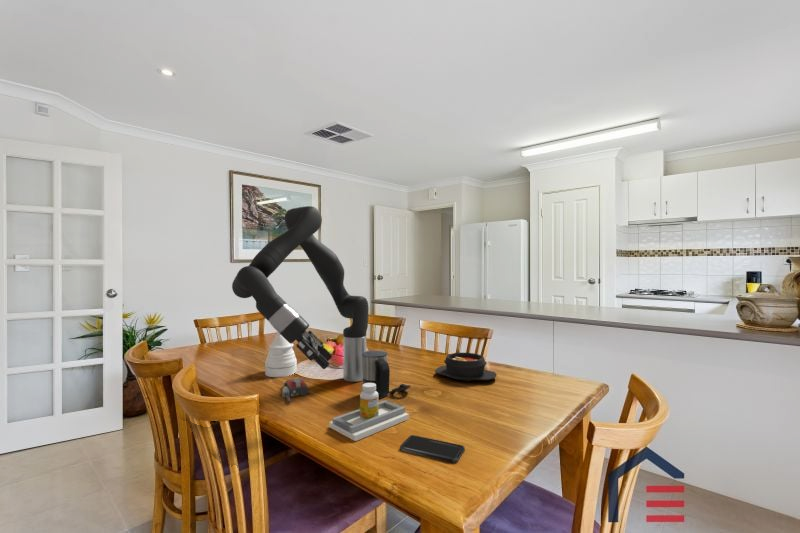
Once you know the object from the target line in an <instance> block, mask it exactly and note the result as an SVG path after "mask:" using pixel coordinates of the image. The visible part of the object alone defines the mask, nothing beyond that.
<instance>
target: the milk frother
mask: <svg viewBox="0 0 800 533" xmlns="http://www.w3.org/2000/svg"><path fill="white" fill-rule="evenodd" d="M387 360H388V352H387V351H383V350H368V351H367V350H366V352H363V353H362V365H363V380H362V385H363V384H365V383H375V384H376V390H375V391H377V392H378V396H379V399H382V398H385V397H387V396H388V395H389V394H393V393H396V392H397V393H398V392H401V393H402V392H405V391H407V390H408V389H410V388H411V384H408V385H407V384H404V383H401V384H399V386H398V387H395V388H393V389H391V390H390V378H391V377H390V373H391V370H390V365H389V362H388V361H387Z"/></svg>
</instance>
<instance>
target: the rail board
mask: <svg viewBox="0 0 800 533" xmlns="http://www.w3.org/2000/svg"><path fill="white" fill-rule="evenodd" d="M409 419H410V414H409V413H407V412H406V407H405V406H401V405H399V404H397V403H395V402H392V401H388V400H386V399H385V400H382V401H379V416H376V417H373V418H371V419H368V420H365V421H363V420H361V419H360V408H358V409H355V410H353V411H350V412H347V413H344V414H341V415H338V416H336V417H333V418H332V419H331V421H329V422H328V423H329V425H328V426H329V428H330V429H332V430H334V431H335V432H338V433H339V434H341V435H343V436H345V437H346V438H348V439H351V440H352V441H354V442H358V441H359V440H362V439H364V438H366V437H369V436H372V435H374V434H377V433H379V432H381V431H384V430H386V429H389V428H391V427H393V426H396V425H398V424H400V423H402V422H405V421H407V420H409Z"/></svg>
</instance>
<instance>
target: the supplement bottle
mask: <svg viewBox="0 0 800 533" xmlns="http://www.w3.org/2000/svg"><path fill="white" fill-rule="evenodd" d="M361 387H362V389H361V390H362V391H361V392H360V394H359V409H360V419H361V420H363V421H365V420H368V419H371V418H373V417H376V416H379V402H380V401H379V399H380V398H379V396H378V392H377V391H375V390H376V384H375V383H365V384H363V383H362V386H361Z"/></svg>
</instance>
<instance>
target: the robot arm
mask: <svg viewBox="0 0 800 533" xmlns="http://www.w3.org/2000/svg"><path fill="white" fill-rule="evenodd" d="M322 217H323V216H322V214H321V211H319V209H318V208H317V207H315V206H313V205H312V206H310V205H308V206H300V207H295V208H294V207H293V208H291V209H288V210H287V211H286V212H285V215H284V222H285V226H286V229H287V230H286V231H285V232H283V233H282V234H280V235H278V236H277V237H275V238H273V239H272V240H270V241H269V242H268V243H267V244H266V245H264V246H263V247H262V249H260V250H259V251H258V252H257V254H255V256H254V258H252V260H251V262H250V263H249V265H247V266H243V267H242V268H240V269H239V271H238V272H237V273H236V276H235V277H234V279H233V281H232V284H231V288H232V292H233V294H234V295H235V296H236V297H238V298H240V299H247V298H248V299H249V298H251V297H252V298H253V300H254V301H255V308H256V311H258V312H259V314H260V315H262V316H263V318H265V320H266V321H268V322H269V324H270V325H271V326H272V328H273V329H274V330H276V331H278V332H279V333H280V334H281V335H282V336H283V337H284V338H285V339H286V340H287V341H288V342H289V343H292V344H294V342H295V341H296V342H297V344H295V346H296V348H298V349H299V351H301V353H303V355H305V357H306V358H307V359H308V360H309V361H314V362H316V364H318V365H319V366H320V367H321V369H322V370H325V369H327V368H329V365H330V362H329V361H330V360H331V359H332V358H333V355H332V353H330V352H329V351H328V350H327V348H325V345H324V343H323V341H322V340H321V339H320V338H318V336H317V335H315V334H314V333H313V331H312V330H309V331H307V329H308V328H309V327H310V323H308V321H307V320H305V318H303V316H301V315H300V314H299V313H298V312H297V310H296V309H294V307H292V306H290V304H288V303H287V302H286V301H285V300H284V299H283V298H282V297H281V296H280V295H279V294H278V293H277V292H276V290H275V288H274V287H273V284H272V283H271V282H270V281H269V279H268V278H269V277H270V276H271V274H273V273H274V272H276V270H277V268H279V266H280V265H281V264H282V263H283V262H284V261H285V259H286V258H288V256H289V255H290V254H291V253H293V251H295V250H296V249H297V248H298V247H299V246H300V247H301V249H302V250H303V252H304V253H305V254H306V257H307V258H308V260H309V262H311V264H312V266H313V268H314V269H315V271H316V272H317V274H318V276H319V277H320V279H321V280H322V282H323V283H324V285H325V287H326V289H327V290H328V292H329V294H330V295H331V297H332V300H333V302H334V305H335V306H336V309H337V310H338V312H339V314H340V315H341V317H343V318H346V319H352V323H351V325H350V326H347V327H345V328H344V329H343V330H342V340H343V342H342V346H343V347H342V351H343V353H342V354H343V355H342V356H343V359H342V361H343V364H342V365H343V367H342V368H343V370H342V371H343V378H344V379H343V380H344V381H346V382H363V365H362V353H363V352H366V351H367V330H368V327H369V310H370V309H369V307H370V306H369V302H368V300H367V298H366V297H365V296H361V295H350V293H349V292H348V291H347V289H346V288H345V286H344V280H345V269H344V266H343V265H342V262H341V261H340V259H339V257H338V255H337V254H336V253H335V252H334V251H333V250H332V249H331V248H329V247H328V246H326V245H325V244H324V243H322V241H319V239H317V238H316V236H315V235H314V234H315V233H316V232H317V231H319V229H320V228H321V226H322V223H323V221H322V220H323V219H322Z"/></svg>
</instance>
